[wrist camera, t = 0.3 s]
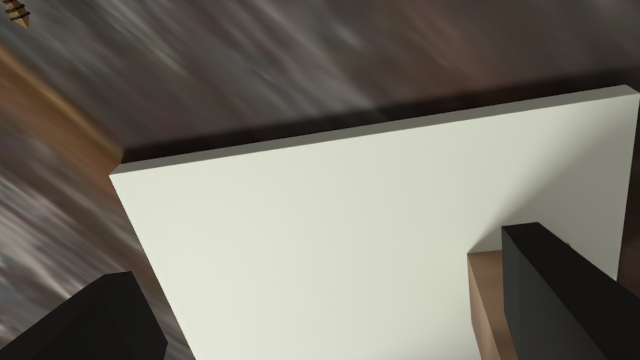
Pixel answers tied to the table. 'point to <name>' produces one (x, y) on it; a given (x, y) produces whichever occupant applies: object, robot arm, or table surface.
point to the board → (374, 224)
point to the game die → (17, 12)
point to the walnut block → (489, 306)
